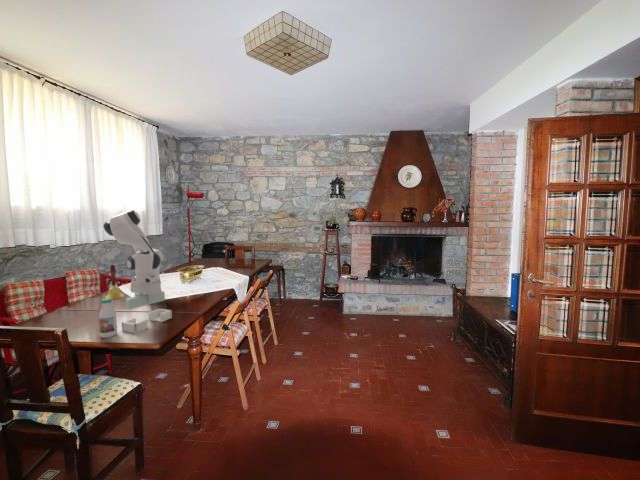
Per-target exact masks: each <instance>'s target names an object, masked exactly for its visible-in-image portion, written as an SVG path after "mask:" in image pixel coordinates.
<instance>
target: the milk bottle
mask: <svg viewBox="0 0 640 480" xmlns="http://www.w3.org/2000/svg"><path fill="white" fill-rule="evenodd" d="M100 302H101V305H102V306H101V309H100V311H99V315H98V323H99V336H100V338H103V339H105V338H112V337H115V336H116V335H118V323H117V321H118V320H117V312H116V310H115V308H114V307H113V305H112V303H113V299H111V298H106V299H105V298H103V299H101V301H100Z"/></svg>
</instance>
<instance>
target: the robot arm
mask: <svg viewBox="0 0 640 480" xmlns="http://www.w3.org/2000/svg"><path fill="white" fill-rule="evenodd" d="M140 216H141V215H139V213H138V212H137V211H135V210H132V209H130V210H126V211H125V212H121V213H119V214H117V215H114V216H111V218H110V219H109V220H107V221H105V222H104V223H103V230H104V232H105V233H106V234H108V235H109V236H112V237H113V238H114V239H115V241H117V243H118V244H121V245H122V244H123V245H129V246H131V247H132V248H133V250H134V251H135V254H132V255H129V256H128V257H127V259H126V261H125V264H126V265H125V266H126V268H127V269H128V270H129V271H131V272H132V271H133V272H135V276H133V277H131V282H130V292H131V293H134V297H135V296H140V295H145V294H148V296H149V298H148V299H147V301H148V302H151V301H152V297H153V295H159V294H160V293H161V291H162V285H161V283H162V282H161V277H160V269H161V263H162V261H163V260H164V253H163V252H162V251H161V250H159V249H157V248H153V247H152V245H150V243H149V239H148V237H147V236H146V234H145V232H143V230H142V229H141V228H140V226H138V225H139V224H140V223H141V217H140Z"/></svg>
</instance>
